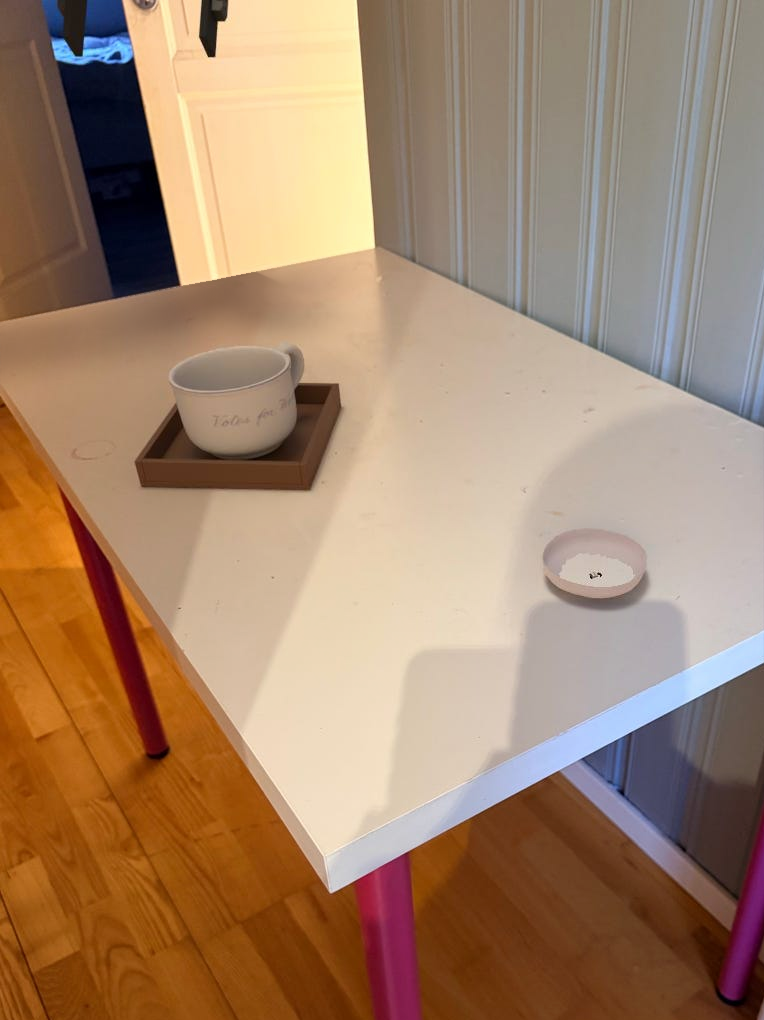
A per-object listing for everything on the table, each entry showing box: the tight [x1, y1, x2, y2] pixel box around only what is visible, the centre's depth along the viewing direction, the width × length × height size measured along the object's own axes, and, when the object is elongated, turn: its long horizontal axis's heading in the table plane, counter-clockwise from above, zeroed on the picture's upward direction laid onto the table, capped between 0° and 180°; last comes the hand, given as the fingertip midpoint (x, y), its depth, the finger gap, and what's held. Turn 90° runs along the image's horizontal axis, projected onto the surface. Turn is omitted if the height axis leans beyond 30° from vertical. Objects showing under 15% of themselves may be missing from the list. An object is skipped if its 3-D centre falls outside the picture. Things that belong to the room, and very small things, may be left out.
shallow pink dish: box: [542, 528, 648, 599], centre depth 70 cm, size 8×8×2 cm
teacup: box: [167, 342, 305, 460], centre depth 85 cm, size 14×11×8 cm
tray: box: [134, 382, 342, 491], centre depth 87 cm, size 15×17×2 cm
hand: (139, 47), depth 91 cm, fingers open, 13 cm apart
